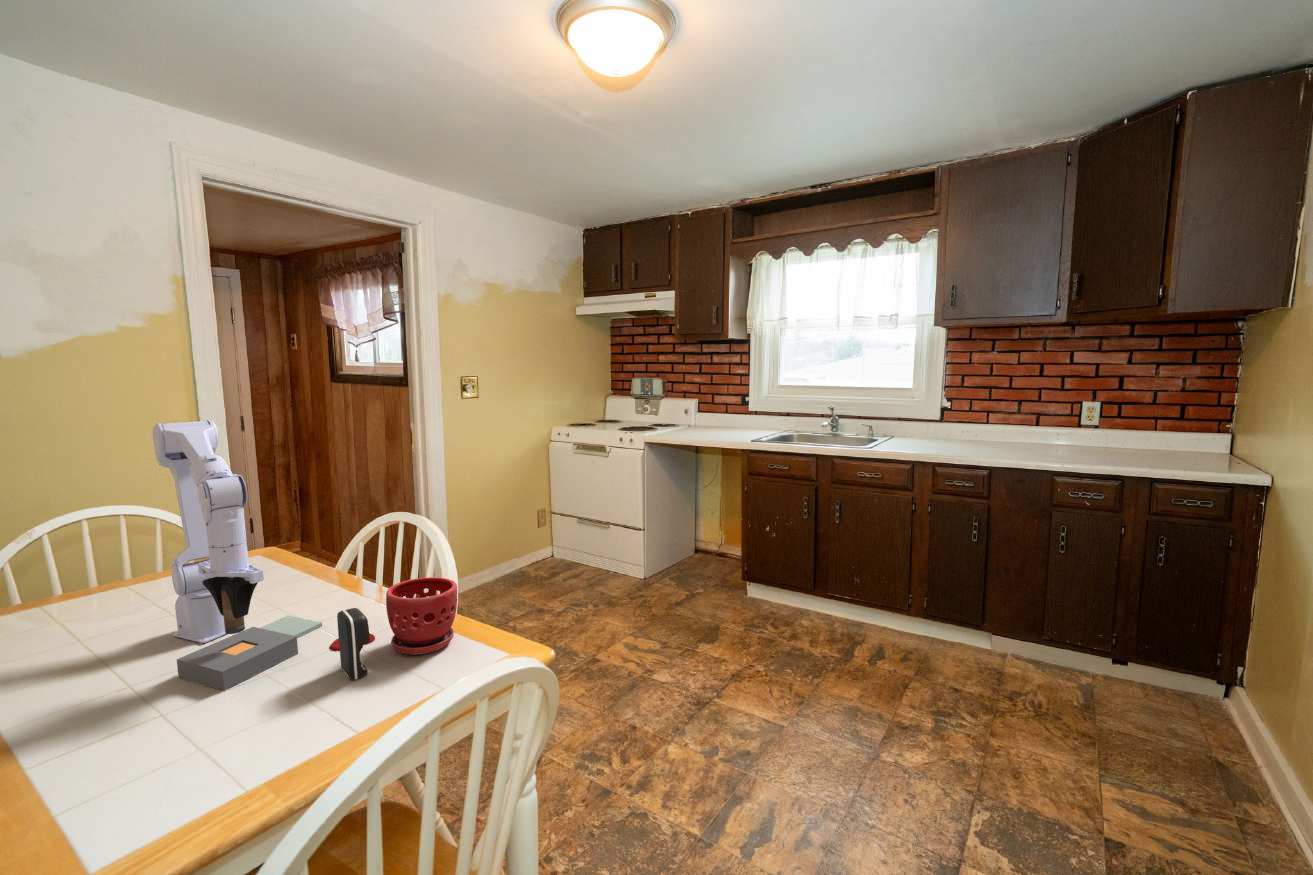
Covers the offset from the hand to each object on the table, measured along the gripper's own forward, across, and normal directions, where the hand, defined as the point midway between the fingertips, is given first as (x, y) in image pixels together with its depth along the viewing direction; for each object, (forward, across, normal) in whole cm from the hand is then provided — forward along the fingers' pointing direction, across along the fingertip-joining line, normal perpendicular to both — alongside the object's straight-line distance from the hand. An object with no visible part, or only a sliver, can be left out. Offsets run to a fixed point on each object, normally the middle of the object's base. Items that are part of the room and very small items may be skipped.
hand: (234, 614), depth 111 cm
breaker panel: (+10, 0, 0) cm, 10 cm away
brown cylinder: (+3, 0, 0) cm, 3 cm away
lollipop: (+11, +8, +17) cm, 22 cm away
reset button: (+8, 0, 0) cm, 8 cm away
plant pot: (+10, +26, +19) cm, 34 cm away
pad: (+10, -5, +13) cm, 17 cm away
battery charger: (+10, +22, +6) cm, 25 cm away
